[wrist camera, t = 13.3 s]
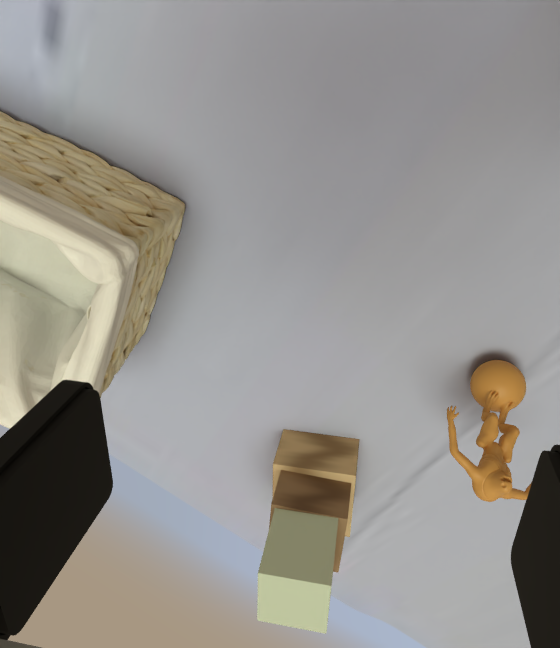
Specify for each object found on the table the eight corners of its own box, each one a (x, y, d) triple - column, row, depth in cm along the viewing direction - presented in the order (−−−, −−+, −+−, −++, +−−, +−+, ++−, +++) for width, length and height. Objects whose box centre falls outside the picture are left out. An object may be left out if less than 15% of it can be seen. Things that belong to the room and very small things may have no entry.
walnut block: (351, 483, 44) (347, 519, 40) (342, 534, 46) (338, 572, 43) (281, 469, 45) (271, 504, 41) (276, 520, 47) (266, 557, 44)
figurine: (552, 382, 42) (607, 489, 31) (500, 431, 44) (534, 544, 34) (467, 327, 41) (492, 417, 30) (419, 380, 44) (428, 479, 33)
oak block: (359, 438, 48) (356, 475, 43) (353, 496, 51) (349, 536, 46) (283, 428, 49) (273, 463, 44) (282, 485, 52) (272, 524, 48)
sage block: (338, 518, 40) (330, 586, 35) (333, 563, 43) (326, 633, 37) (274, 507, 41) (258, 572, 36) (273, 552, 43) (257, 620, 38)
